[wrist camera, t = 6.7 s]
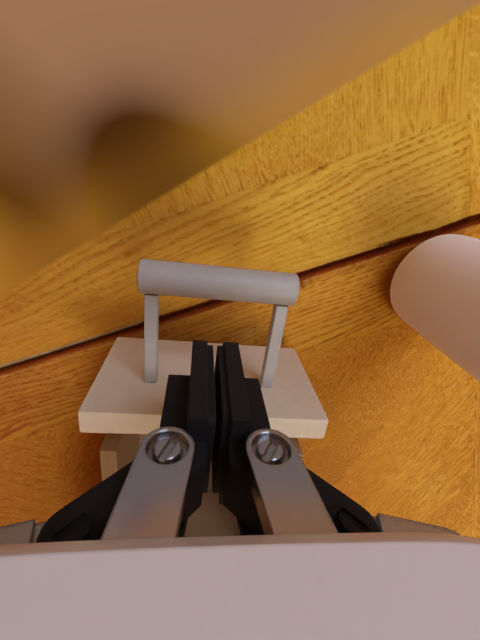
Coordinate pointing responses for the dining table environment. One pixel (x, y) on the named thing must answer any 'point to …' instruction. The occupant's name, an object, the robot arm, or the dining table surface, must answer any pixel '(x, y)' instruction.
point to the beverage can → (443, 296)
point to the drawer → (175, 358)
